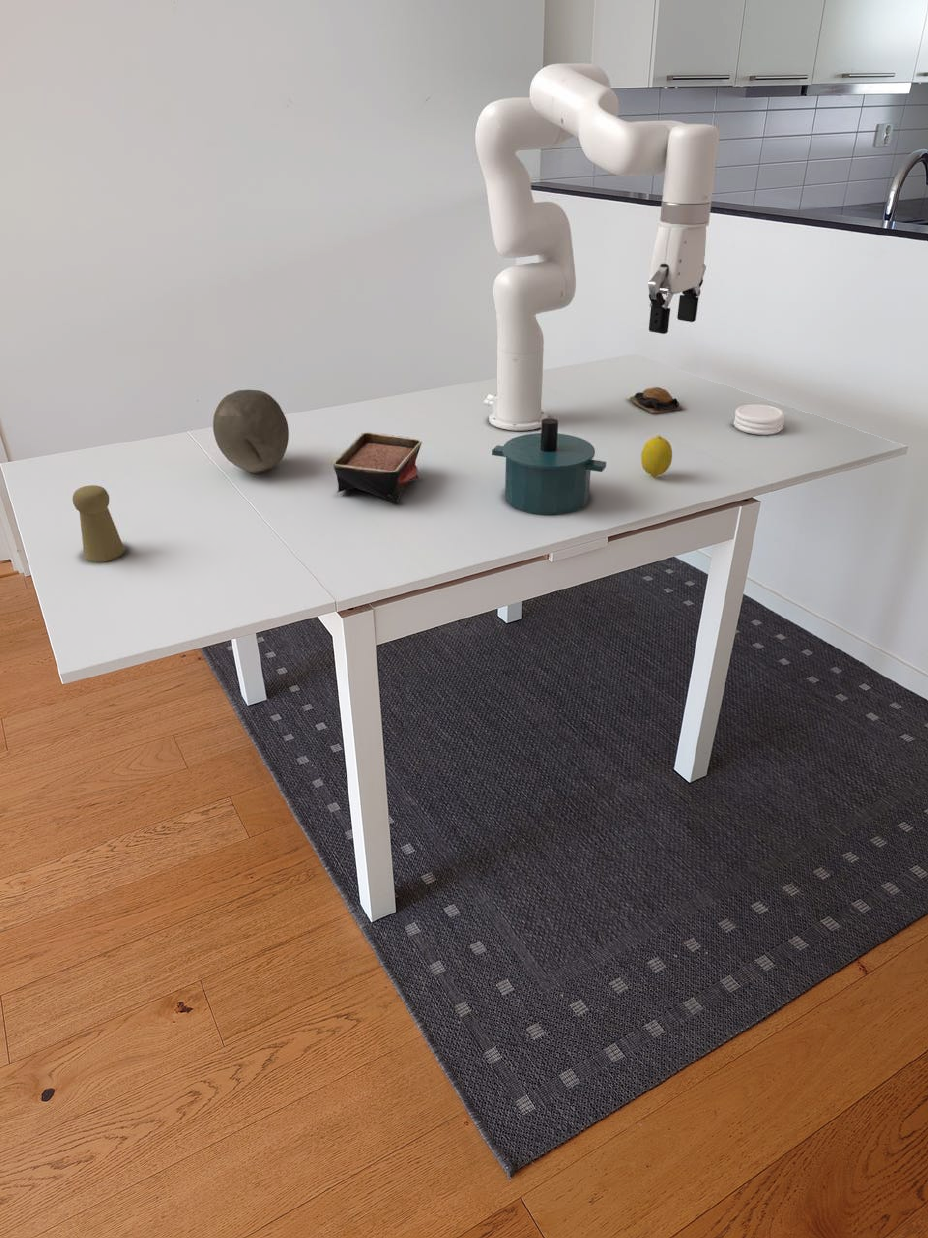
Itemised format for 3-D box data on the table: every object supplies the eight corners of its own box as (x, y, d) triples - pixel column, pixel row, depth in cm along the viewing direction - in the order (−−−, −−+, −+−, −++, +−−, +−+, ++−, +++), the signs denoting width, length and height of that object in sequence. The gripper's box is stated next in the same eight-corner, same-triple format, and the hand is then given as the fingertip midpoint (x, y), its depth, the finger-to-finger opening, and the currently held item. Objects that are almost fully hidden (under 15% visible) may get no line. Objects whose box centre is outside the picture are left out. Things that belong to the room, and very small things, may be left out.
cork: (90, 545, 143) (73, 481, 137) (128, 543, 143) (113, 479, 137) (79, 562, 138) (62, 497, 132) (119, 561, 138) (103, 495, 132)
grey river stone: (308, 462, 172) (300, 385, 164) (265, 489, 161) (254, 408, 153) (248, 451, 177) (237, 376, 169) (203, 476, 166) (189, 398, 158)
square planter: (432, 486, 166) (430, 432, 163) (395, 510, 151) (391, 452, 147) (363, 482, 171) (359, 430, 167) (319, 506, 155) (314, 449, 152)
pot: (508, 473, 166) (509, 430, 162) (612, 490, 159) (616, 445, 155) (478, 503, 155) (478, 457, 150) (588, 523, 148) (592, 475, 143)
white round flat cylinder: (788, 424, 187) (791, 408, 186) (774, 438, 180) (777, 422, 179) (741, 416, 192) (744, 400, 190) (726, 430, 185) (729, 413, 183)
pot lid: (521, 433, 162) (522, 401, 158) (605, 445, 156) (608, 412, 153) (488, 464, 150) (488, 429, 146) (578, 478, 144) (580, 442, 141)
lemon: (669, 484, 161) (674, 442, 157) (638, 481, 162) (642, 440, 158) (669, 472, 166) (674, 431, 162) (639, 470, 167) (643, 429, 163)
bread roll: (627, 400, 202) (628, 384, 200) (659, 396, 204) (660, 380, 202) (651, 414, 193) (652, 398, 192) (684, 410, 196) (686, 393, 194)
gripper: (689, 206, 146) (676, 313, 155) (636, 218, 135) (626, 333, 144) (731, 210, 142) (716, 319, 151) (680, 223, 131) (667, 340, 140)
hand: (672, 326), depth 148 cm, fingers open, 9 cm apart
